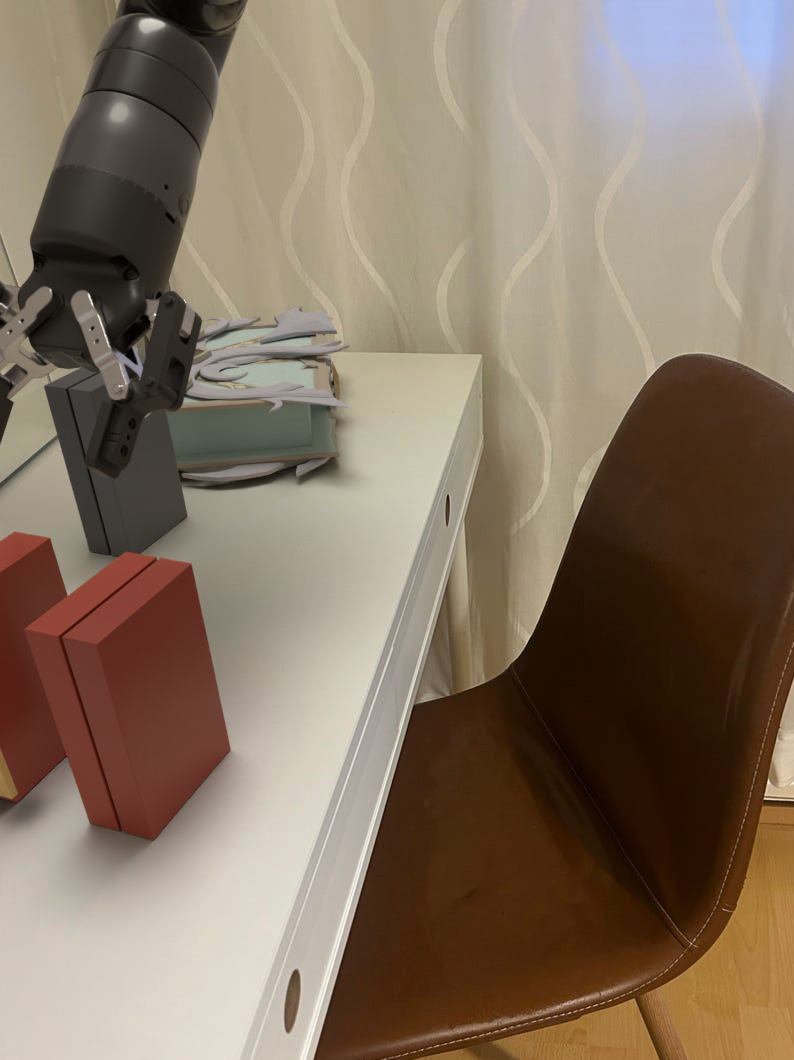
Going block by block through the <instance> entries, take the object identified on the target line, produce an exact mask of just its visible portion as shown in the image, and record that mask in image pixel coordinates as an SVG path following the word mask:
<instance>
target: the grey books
mask: <svg viewBox="0 0 794 1060" xmlns="http://www.w3.org/2000/svg"><path fill="white" fill-rule="evenodd" d="M139 358H140V361H141V363H142V366H144V362H145V358H146V357H144V356H139ZM43 389H44V392H45V396H46V400H47V403H48V406H49V410H50V413H51V418H52V421H53V423H54V428H55V432H56V435H57V440H58V442H59V447H60V450H61V454H62V457H63V460H64V461H63V462H64V464H65V468H66V471H67V475H68V478H69V483H70V486H71V489H72V490H71V491H72V493H73V497H74V500H75V504H76V507H77V511H78V515H79V518H80V521H81V526H82V529H83V532H84V537H85V540H86V543H87V547H88V551H89V552H91V553H98V554H103V555H108V556H110V555H111V556H113V557H119V556H121V555H122V554H123V553H125V552H131V553H136V554H141V553H142V552H143V551H145V550H146V549H147V548H148V547H149V546H151V545H152V544H153V543H155V542H156V541H157V540H158V539H160V538H161V537H163V536H164V535H165V534H167V533H168V532H169V531H171V529H173V528H174V527H175V526H176V525H178V524H179V523H181V522H182V521H183V520H184V519H186V518H187V517H188V511H187V506H186V501H185V497H184V491H183V487H182V481H181V477H180V472H179V470H178V467H177V462H176V457H175V453H174V448H173V443H172V438H171V433H170V428H169V424H168V419H167V414H166V409H161V410H157V411H153V412H151V414H150V415H149V416H148V417H146V418H144V419H143V421H142V423H141V427H140V430H139V433H138V437H137V440H136V443H135V445H134V446H135V447H134V450H133V451H132V457H131V460H130V463H129V464H128V465H127V467H126V468H125V470H121V473H120V476H119V477H118V478H116V479H112V478H106V477H102V476H100V475H99V474H97V473H95V472H94V471H92V470H90V469H88V468H87V466H86V464H85V456H86V453H87V450H88V446H89V443H90V440H91V437H92V433H93V430H94V427H95V424H96V420H97V417H98V414H99V411H100V407H101V404H102V401H105V402H111V399H112V398H110V396H109V394H108V391H107V388H106V386H105V383H104V380H103V377H102V374H101V373H96V372H91V371H89V370H86V369H84V368H82V367H80V368H76V369H75V370H73V371H71V372H69V373H67V374H65V375H63V376H61V377H59V378H57V379H54V380H52V381H51V382H49V383H47V384H45V385H44V386H43Z"/></svg>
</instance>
